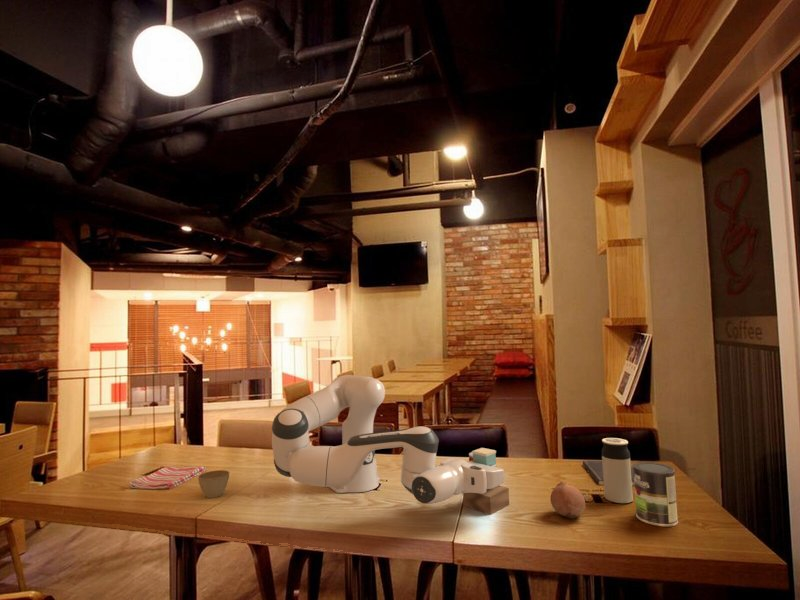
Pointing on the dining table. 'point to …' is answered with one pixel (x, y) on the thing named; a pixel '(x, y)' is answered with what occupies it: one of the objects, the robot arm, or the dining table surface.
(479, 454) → the tea tin
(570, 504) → the onion
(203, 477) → the flower pot
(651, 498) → the coffee can
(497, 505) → the riser block
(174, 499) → the dining table surface
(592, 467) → the hardcover book
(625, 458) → the travel mug
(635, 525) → the dining table surface
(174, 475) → the dish towel
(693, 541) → the dining table surface
